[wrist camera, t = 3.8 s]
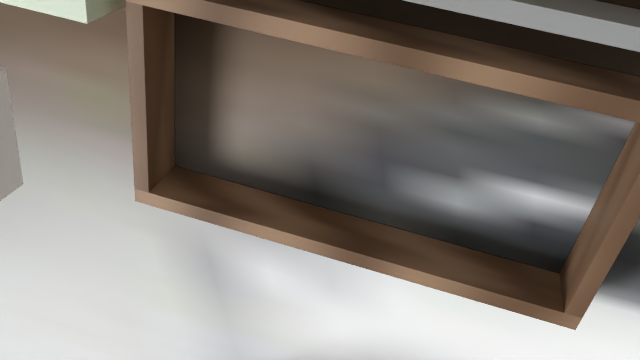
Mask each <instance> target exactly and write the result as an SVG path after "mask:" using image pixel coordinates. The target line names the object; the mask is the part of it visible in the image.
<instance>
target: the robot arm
mask: <svg viewBox="0 0 640 360" xmlns="http://www.w3.org/2000/svg"><path fill="white" fill-rule="evenodd" d="M22 184H23V179H22V172H21V165H20V159H19V152H18V146H17V139H16V133H15V126H14V119H13V113H12V106H11V100H10V93H9V87H8V80H7V73H6V69H5V68H2V67H0V201H1V200H2V199H3V198H5V197H6V196H7V195H9V194H10V193H12V192H13V191H14V190H16V189H17V188H18V187H20V186H21V185H22Z"/></svg>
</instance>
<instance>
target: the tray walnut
mask: <svg viewBox="0 0 640 360" xmlns="http://www.w3.org/2000/svg"><path fill="white" fill-rule="evenodd" d="M125 2H126V23H127V43H128V63H129V84H130V104H131V125H132V145H133V166H134V186H135V201H137V202H140V203H144V204H147V205H151V206H154V207H157V208H161V209H164V210H168V211H171V212H175V213H178V214H181V215H185V216H188V217H192V218H195V219H198V220H202V221H205V222H209V223H212V224H216V225H219V226H222V227H226V228H229V229H233V230H236V231H239V232H243V233H246V234H250V235H253V236H256V237H260V238H263V239H267V240H270V241H274V242H277V243H280V244H284V245H287V246H291V247H294V248H297V249H301V250H304V251H308V252H311V253H314V254H318V255H321V256H325V257H328V258H332V259H335V260H338V261H342V262H345V263H349V264H352V265H355V266H359V267H362V268H366V269H369V270H373V271H376V272H379V273H383V274H386V275H390V276H393V277H396V278H400V279H403V280H407V281H410V282H413V283H417V284H420V285H424V286H427V287H431V288H434V289H437V290H441V291H444V292H448V293H451V294H454V295H458V296H461V297H465V298H468V299H471V300H475V301H478V302H482V303H485V304H489V305H492V306H495V307H499V308H502V309H506V310H509V311H512V312H516V313H519V314H523V315H526V316H530V317H533V318H536V319H540V320H543V321H547V322H550V323H553V324H557V325H560V326H564V327H567V328H570V329H574V330H576V328H577V326H578V324H579V323H580V321H581V319H582V317H583V316H584V314H585V312H586V310H587V309H588V307H589V305H590V303H591V302H592V300H593V298H594V296H595V295H596V293H597V291H598V289H599V288H600V286H601V284H602V282H603V280H604V279H605V277H606V275H607V273H608V272H609V270H610V268H611V266H612V265H613V263H614V261H615V259H616V258H617V256H618V254H619V252H620V251H621V249H622V247H623V245H624V244H625V242H626V240H627V238H628V237H629V235H630V233H631V231H632V230H633V228H634V226H635V224H636V222H637V221H638V219H639V217H640V77H638V76H634V75H629V74H625V73H620V72H616V71H612V70H607V69H603V68H598V67H594V66H589V65H585V64H580V63H576V62H572V61H567V60H563V59H558V58H554V57H549V56H545V55H540V54H536V53H531V52H527V51H523V50H518V49H514V48H509V47H505V46H500V45H496V44H491V43H487V42H483V41H478V40H474V39H469V38H465V37H460V36H456V35H451V34H447V33H443V32H438V31H434V30H429V29H425V28H420V27H416V26H411V25H407V24H403V23H398V22H394V21H389V20H385V19H380V18H376V17H371V16H367V15H362V14H358V13H354V12H349V11H345V10H340V9H336V8H331V7H327V6H322V5H318V4H314V3H309V2H305V1H300V0H125ZM174 13H178V14H182V15H186V16H190V17H195V18H199V19H203V20H207V21H212V22H216V23H220V24H224V25H229V26H233V27H237V28H241V29H245V30H250V31H254V32H258V33H262V34H267V35H271V36H275V37H279V38H284V39H288V40H292V41H296V42H300V43H305V44H309V45H313V46H317V47H322V48H326V49H330V50H334V51H339V52H343V53H347V54H351V55H355V56H360V57H364V58H368V59H372V60H377V61H381V62H385V63H389V64H394V65H398V66H402V67H406V68H410V69H415V70H419V71H423V72H427V73H432V74H436V75H440V76H444V77H449V78H453V79H457V80H461V81H465V82H470V83H474V84H478V85H482V86H487V87H491V88H495V89H499V90H504V91H508V92H512V93H516V94H520V95H525V96H529V97H533V98H537V99H542V100H546V101H550V102H554V103H559V104H563V105H567V106H571V107H575V108H580V109H584V110H588V111H592V112H597V113H601V114H605V115H609V116H614V117H618V118H622V119H626V120H630V121H635V122H636V123H635V125H634V127H633V129H632V131H631V133H630V135H629V137H628V139H627V141H626V143H625V145H624V147H623V149H622V151H621V153H620V155H619V157H618V159H617V161H616V163H615V165H614V167H613V169H612V171H611V173H610V175H609V177H608V179H607V181H606V183H605V185H604V187H603V189H602V191H601V193H600V195H599V197H598V199H597V201H596V203H595V205H594V207H593V208H592V210H591V212H590V214H589V216H588V218H587V220H586V222H585V224H584V226H583V228H582V230H581V232H580V234H579V236H578V238H577V240H576V242H575V244H574V246H573V248H572V250H571V252H570V254H569V256H568V258H567V260H566V262H565V264H564V266H563V268H562V270H561V272H560V274H558V273H555V272H551V271H548V270H544V269H540V268H537V267H533V266H530V265H526V264H523V263H519V262H515V261H512V260H508V259H505V258H501V257H498V256H494V255H490V254H487V253H483V252H480V251H476V250H473V249H469V248H465V247H462V246H458V245H455V244H451V243H448V242H444V241H440V240H437V239H433V238H430V237H426V236H423V235H419V234H415V233H412V232H408V231H405V230H401V229H398V228H394V227H390V226H387V225H383V224H380V223H376V222H373V221H369V220H365V219H362V218H358V217H355V216H351V215H348V214H344V213H340V212H337V211H333V210H330V209H326V208H323V207H319V206H315V205H312V204H308V203H305V202H301V201H297V200H294V199H290V198H287V197H283V196H280V195H276V194H272V193H269V192H265V191H262V190H258V189H255V188H251V187H247V186H244V185H240V184H237V183H233V182H230V181H226V180H222V179H219V178H215V177H212V176H208V175H205V174H201V173H197V172H194V171H190V170H187V169H183V168H180V167H176V166H175V66H174Z"/></svg>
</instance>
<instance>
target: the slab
mask: <svg viewBox="0 0 640 360" xmlns="http://www.w3.org/2000/svg"><path fill="white" fill-rule="evenodd" d="M0 2H1V3H6V4H10V5H14V6H18V7H22V8H26V9H30V10H34V11H38V12H42V13H46V14H50V15H54V16H59V17H63V18H67V19H71V20H75V21H79V22H83V23H90V22H92V21H94V20H96V19H98V18H100V17H103V16H105V15H107V14H109V13H111V12H113V11H116V10H118V9H120V8H122V7H124V6H126V2H125V0H0Z"/></svg>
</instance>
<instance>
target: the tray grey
mask: <svg viewBox="0 0 640 360" xmlns="http://www.w3.org/2000/svg"><path fill="white" fill-rule="evenodd" d="M404 1H408V2H413V3H418V4H422V5H427V6H431V7H436V8H440V9H445V10H450V11H454V12H459V13H463V14H468V15H472V16H477V17H482V18H486V19H491V20H495V21H500V22H504V23H509V24H514V25H518V26H523V27H527V28H532V29H537V30H541V31H546V32H550V33H555V34H559V35H564V36H569V37H573V38H578V39H582V40H587V41H591V42H596V43H601V44H605V45H610V46H614V47H619V48H623V49H628V50H633V51H637V52H640V10H639V9H634V8H629V7H624V6H619V5H615V4H610V3H605V2H600V1H595V0H404Z"/></svg>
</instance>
